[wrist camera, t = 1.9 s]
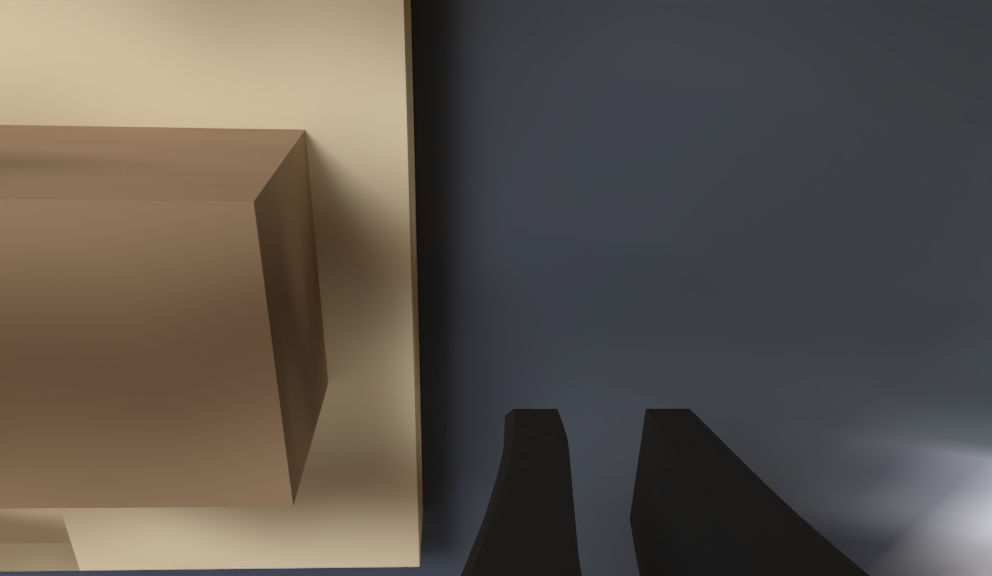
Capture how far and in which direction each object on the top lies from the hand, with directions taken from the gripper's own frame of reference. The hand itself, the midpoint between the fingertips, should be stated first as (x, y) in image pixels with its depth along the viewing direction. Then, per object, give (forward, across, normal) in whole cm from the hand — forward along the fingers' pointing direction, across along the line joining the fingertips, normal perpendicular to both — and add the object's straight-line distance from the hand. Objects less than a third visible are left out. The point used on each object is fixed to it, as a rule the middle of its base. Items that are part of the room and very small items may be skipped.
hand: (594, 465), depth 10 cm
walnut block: (+6, +8, 0) cm, 10 cm away
